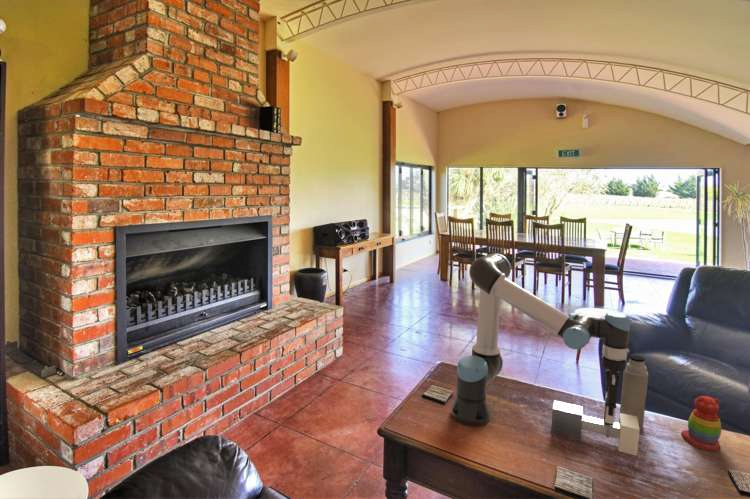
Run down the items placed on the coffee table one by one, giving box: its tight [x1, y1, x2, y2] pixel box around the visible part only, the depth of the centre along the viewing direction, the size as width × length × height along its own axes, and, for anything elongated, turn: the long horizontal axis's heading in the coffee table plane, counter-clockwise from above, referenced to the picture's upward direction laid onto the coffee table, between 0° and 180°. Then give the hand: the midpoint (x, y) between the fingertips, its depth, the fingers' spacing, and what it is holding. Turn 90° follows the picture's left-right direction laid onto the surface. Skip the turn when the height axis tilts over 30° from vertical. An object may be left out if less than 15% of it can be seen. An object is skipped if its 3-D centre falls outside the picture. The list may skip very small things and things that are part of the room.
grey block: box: [550, 399, 584, 441], centre depth 156 cm, size 10×7×10 cm
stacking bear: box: [680, 395, 722, 452], centre depth 149 cm, size 11×10×18 cm
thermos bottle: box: [619, 354, 649, 432], centre depth 159 cm, size 8×8×28 cm
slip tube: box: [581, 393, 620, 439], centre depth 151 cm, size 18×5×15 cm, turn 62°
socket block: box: [616, 412, 641, 456], centre depth 147 cm, size 6×9×10 cm, turn 152°
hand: (609, 415), depth 149 cm, fingers open, 9 cm apart
